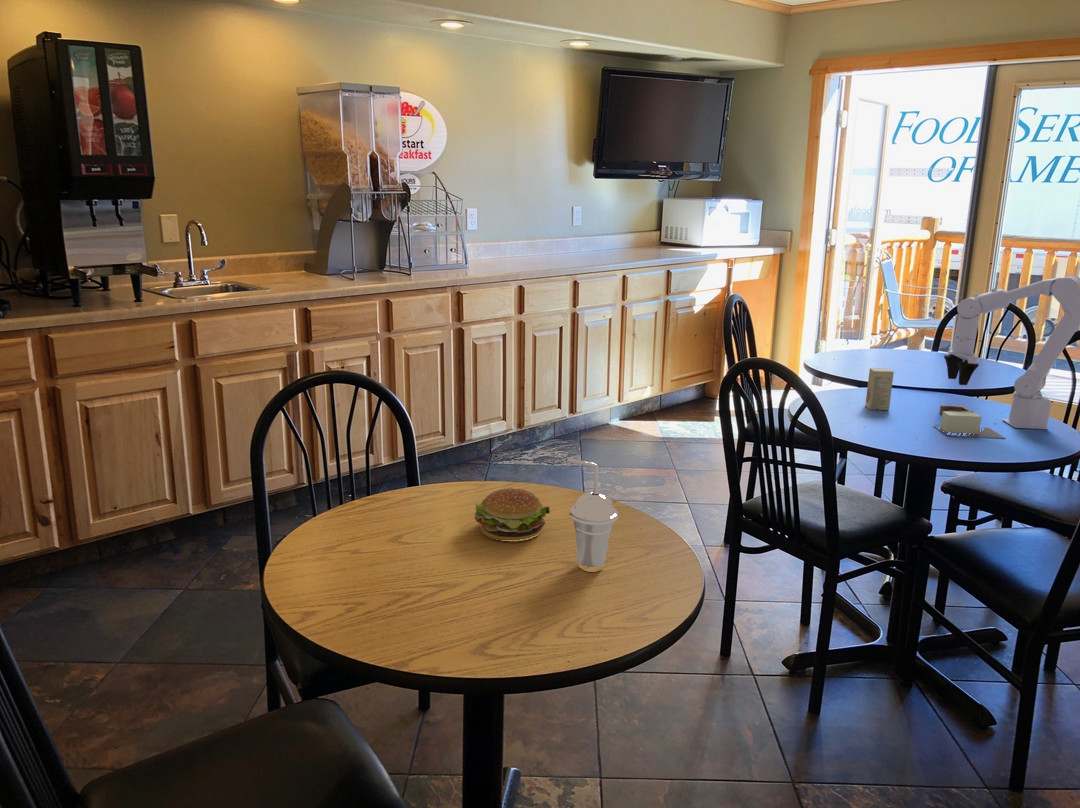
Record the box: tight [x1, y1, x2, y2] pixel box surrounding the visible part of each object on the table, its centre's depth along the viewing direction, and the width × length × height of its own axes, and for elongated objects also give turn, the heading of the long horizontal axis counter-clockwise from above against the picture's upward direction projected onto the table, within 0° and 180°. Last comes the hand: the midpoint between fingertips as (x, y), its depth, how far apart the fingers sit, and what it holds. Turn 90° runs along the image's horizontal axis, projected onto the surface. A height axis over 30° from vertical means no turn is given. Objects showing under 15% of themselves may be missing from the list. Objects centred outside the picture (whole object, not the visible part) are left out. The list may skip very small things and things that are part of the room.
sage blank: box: [939, 411, 982, 434], centre depth 235 cm, size 9×4×5 cm, turn 88°
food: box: [474, 487, 551, 541], centre depth 159 cm, size 14×14×8 cm
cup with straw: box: [565, 457, 619, 567], centre depth 144 cm, size 8×9×20 cm
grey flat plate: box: [933, 424, 1006, 440], centre depth 236 cm, size 16×10×1 cm, turn 88°
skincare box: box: [864, 367, 895, 411], centre depth 256 cm, size 6×4×12 cm
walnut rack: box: [939, 404, 975, 414], centre depth 251 cm, size 7×7×2 cm
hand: (957, 381), depth 254 cm, fingers open, 7 cm apart
